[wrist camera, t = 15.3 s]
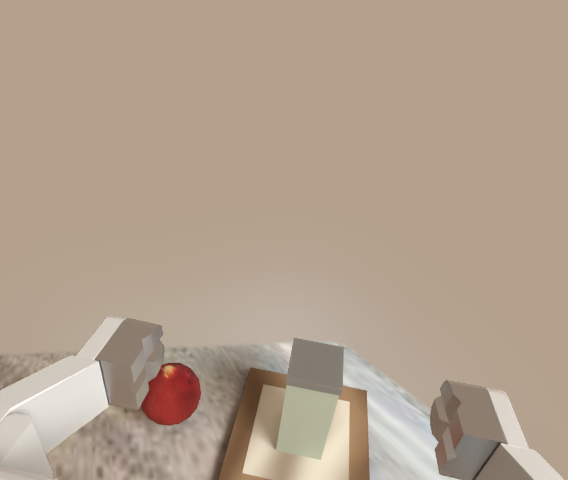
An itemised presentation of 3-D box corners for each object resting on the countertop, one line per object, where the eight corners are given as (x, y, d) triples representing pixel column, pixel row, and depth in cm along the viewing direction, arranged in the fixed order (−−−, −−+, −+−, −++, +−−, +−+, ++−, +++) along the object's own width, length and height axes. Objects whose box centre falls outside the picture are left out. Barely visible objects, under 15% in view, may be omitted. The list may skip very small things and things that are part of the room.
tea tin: (274, 451, 38) (286, 378, 32) (282, 409, 42) (294, 337, 36) (321, 461, 38) (342, 389, 32) (324, 418, 42) (343, 347, 36)
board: (214, 496, 35) (214, 490, 34) (249, 373, 47) (250, 367, 46) (368, 531, 34) (371, 526, 33) (364, 396, 46) (366, 390, 45)
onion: (169, 383, 44) (164, 334, 40) (211, 405, 43) (211, 356, 38) (132, 425, 40) (123, 375, 36) (178, 452, 38) (174, 401, 34)
